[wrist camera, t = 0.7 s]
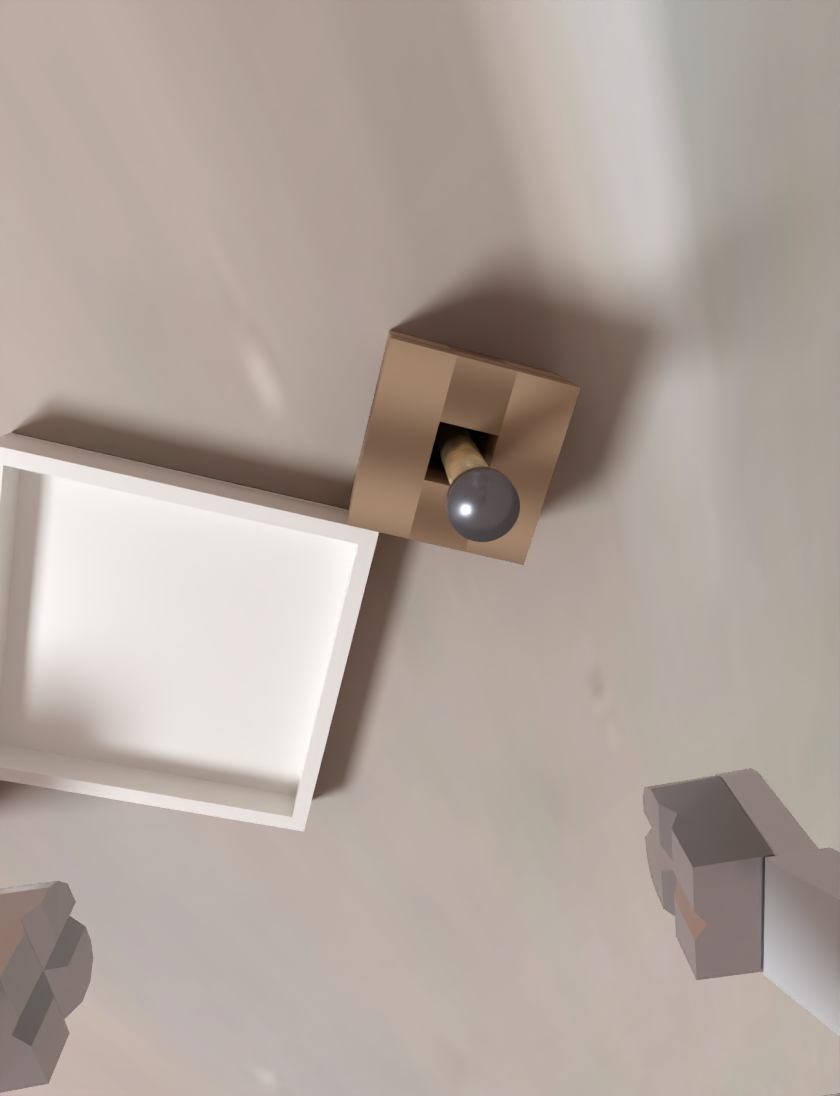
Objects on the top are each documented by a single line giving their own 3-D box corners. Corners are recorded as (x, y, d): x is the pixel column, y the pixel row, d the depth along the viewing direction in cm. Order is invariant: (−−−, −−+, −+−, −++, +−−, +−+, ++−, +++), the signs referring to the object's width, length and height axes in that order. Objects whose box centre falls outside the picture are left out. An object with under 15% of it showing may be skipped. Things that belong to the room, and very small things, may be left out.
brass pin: (433, 404, 44) (458, 464, 30) (481, 417, 45) (529, 481, 30) (420, 453, 45) (439, 533, 31) (468, 464, 45) (508, 548, 31)
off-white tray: (10, 432, 43) (-15, 443, 41) (379, 516, 46) (379, 532, 43) (-14, 746, 50) (-37, 773, 48) (307, 802, 53) (303, 831, 51)
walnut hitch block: (389, 330, 43) (391, 338, 37) (554, 373, 44) (580, 387, 38) (351, 494, 46) (347, 524, 40) (506, 530, 47) (523, 564, 41)
